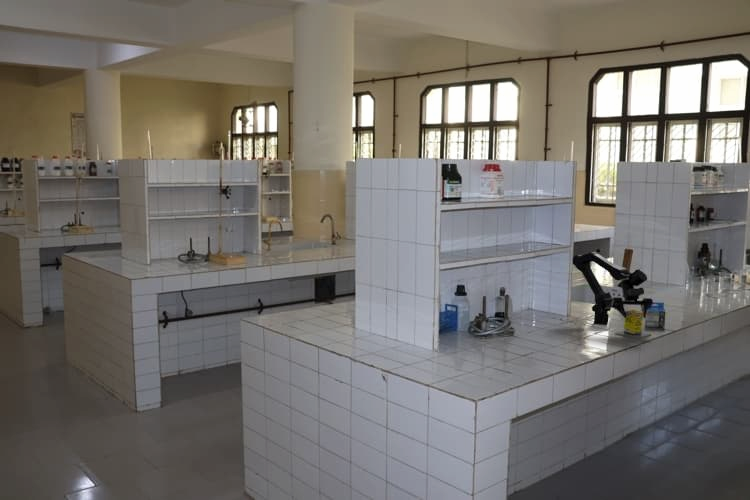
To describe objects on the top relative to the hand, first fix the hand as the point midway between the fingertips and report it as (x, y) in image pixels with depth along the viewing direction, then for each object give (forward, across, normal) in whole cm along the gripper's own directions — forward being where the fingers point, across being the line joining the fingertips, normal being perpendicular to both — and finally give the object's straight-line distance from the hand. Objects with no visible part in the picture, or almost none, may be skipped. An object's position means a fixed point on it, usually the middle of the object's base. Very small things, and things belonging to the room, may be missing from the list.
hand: (635, 317), depth 323 cm
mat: (+5, 0, +7) cm, 9 cm away
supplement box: (+5, 0, +7) cm, 9 cm away
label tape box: (-7, +17, +20) cm, 28 cm away
